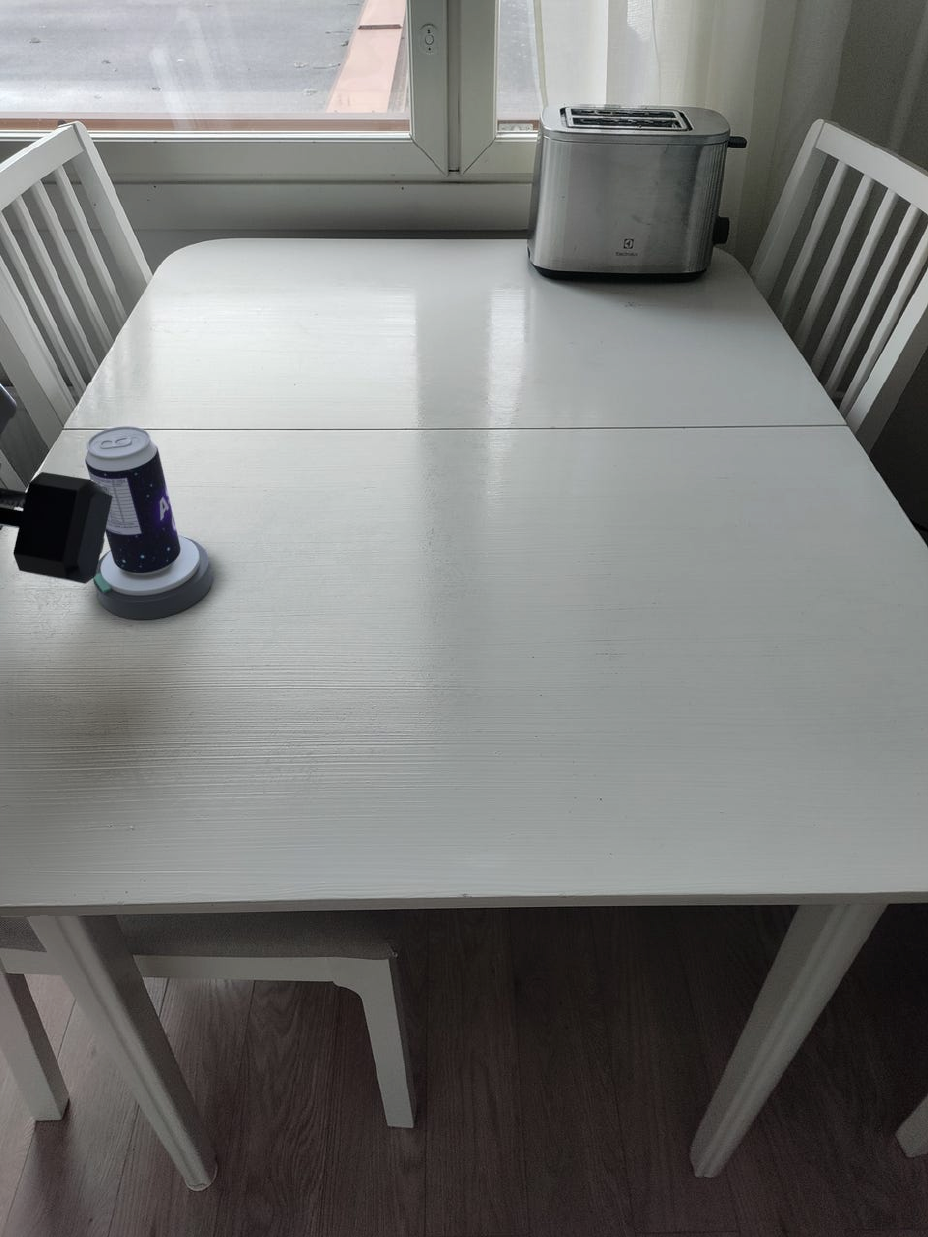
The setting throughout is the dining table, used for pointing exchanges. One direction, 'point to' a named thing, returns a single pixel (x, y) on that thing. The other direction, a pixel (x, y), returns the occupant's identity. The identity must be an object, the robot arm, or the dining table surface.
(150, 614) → the kitchen scale
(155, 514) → the beverage can
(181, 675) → the dining table surface
